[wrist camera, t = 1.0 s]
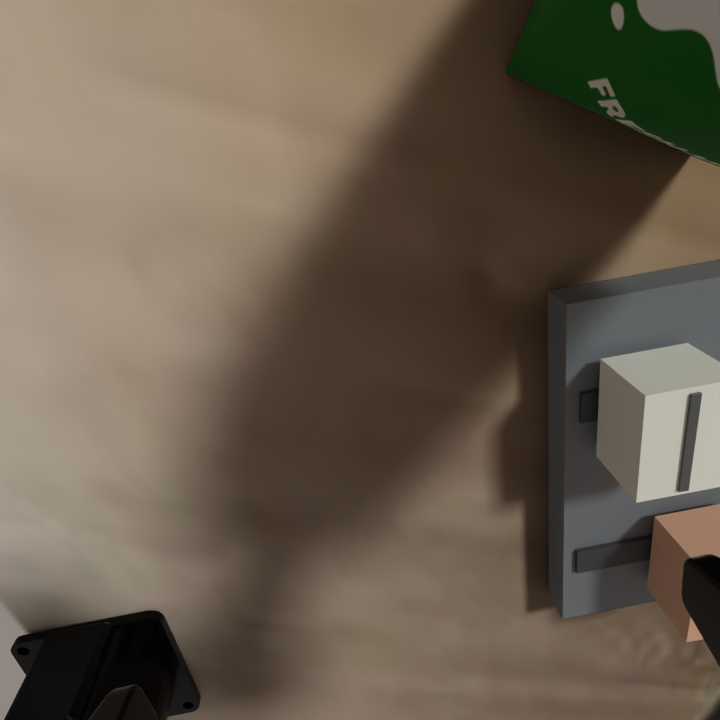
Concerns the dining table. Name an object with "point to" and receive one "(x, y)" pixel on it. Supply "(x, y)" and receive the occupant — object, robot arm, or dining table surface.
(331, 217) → the dining table surface
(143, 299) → the dining table surface
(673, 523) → the fader terracotta
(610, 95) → the milk carton
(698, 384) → the fader ivory
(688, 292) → the console
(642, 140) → the dining table surface
